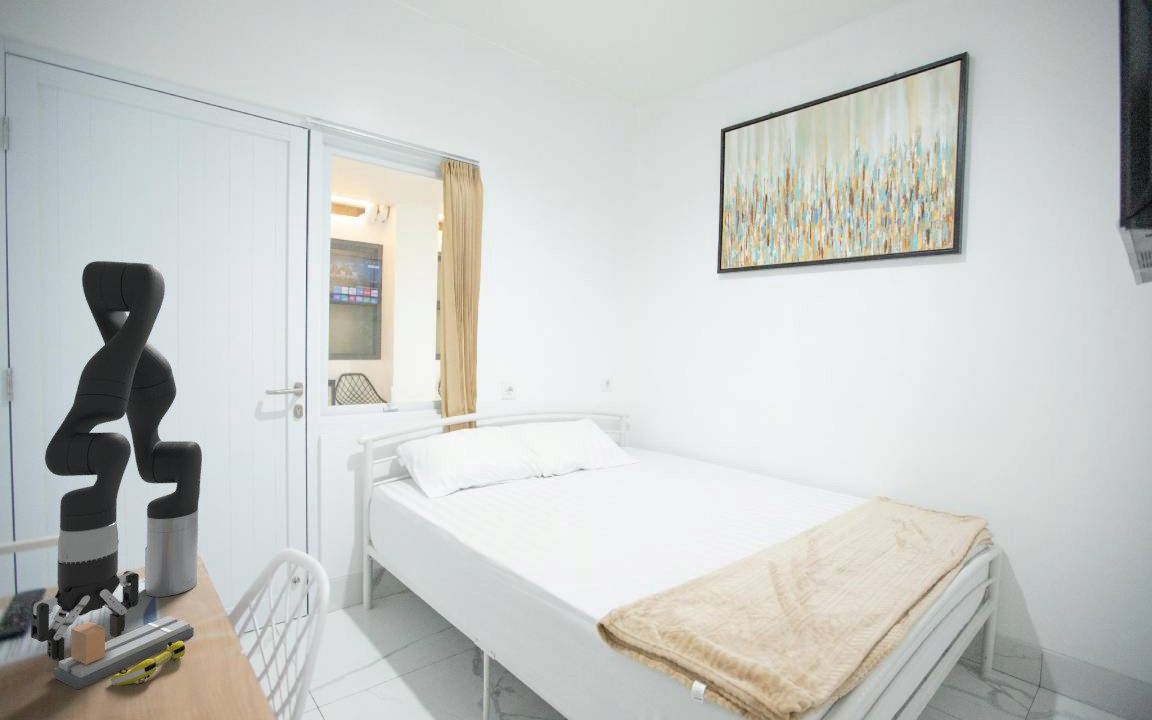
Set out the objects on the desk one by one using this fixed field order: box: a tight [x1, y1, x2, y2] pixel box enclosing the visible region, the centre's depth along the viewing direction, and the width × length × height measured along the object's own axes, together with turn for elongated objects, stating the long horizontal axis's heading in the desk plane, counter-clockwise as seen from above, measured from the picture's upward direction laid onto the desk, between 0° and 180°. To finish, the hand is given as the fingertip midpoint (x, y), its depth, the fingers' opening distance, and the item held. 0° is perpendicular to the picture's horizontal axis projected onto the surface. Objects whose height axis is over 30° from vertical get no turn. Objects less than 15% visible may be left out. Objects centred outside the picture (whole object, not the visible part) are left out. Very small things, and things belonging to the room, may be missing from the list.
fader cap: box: [70, 621, 106, 665], centre depth 91 cm, size 3×4×6 cm, turn 67°
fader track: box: [53, 615, 194, 690], centre depth 97 cm, size 18×7×3 cm, turn 157°
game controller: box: [110, 640, 187, 686], centre depth 93 cm, size 10×6×4 cm, turn 168°
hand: (87, 647), depth 91 cm, fingers open, 7 cm apart
